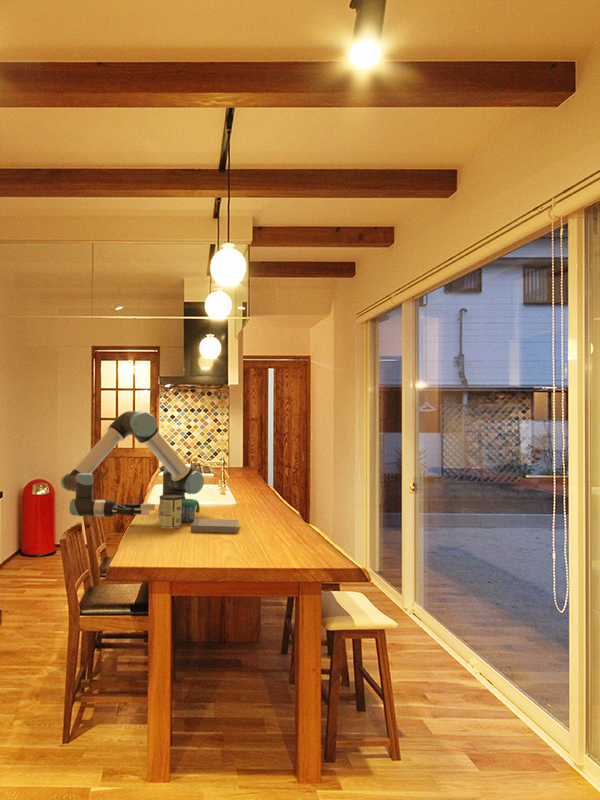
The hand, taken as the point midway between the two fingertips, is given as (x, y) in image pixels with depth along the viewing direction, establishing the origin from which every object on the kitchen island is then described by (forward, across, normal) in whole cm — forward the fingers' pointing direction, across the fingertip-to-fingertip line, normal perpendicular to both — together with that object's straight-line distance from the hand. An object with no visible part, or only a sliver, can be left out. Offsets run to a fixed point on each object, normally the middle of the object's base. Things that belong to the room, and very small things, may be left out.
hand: (151, 509), depth 305 cm
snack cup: (+13, -16, -8) cm, 23 cm away
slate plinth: (+29, +3, -8) cm, 31 cm away
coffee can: (+8, 0, -8) cm, 12 cm away
